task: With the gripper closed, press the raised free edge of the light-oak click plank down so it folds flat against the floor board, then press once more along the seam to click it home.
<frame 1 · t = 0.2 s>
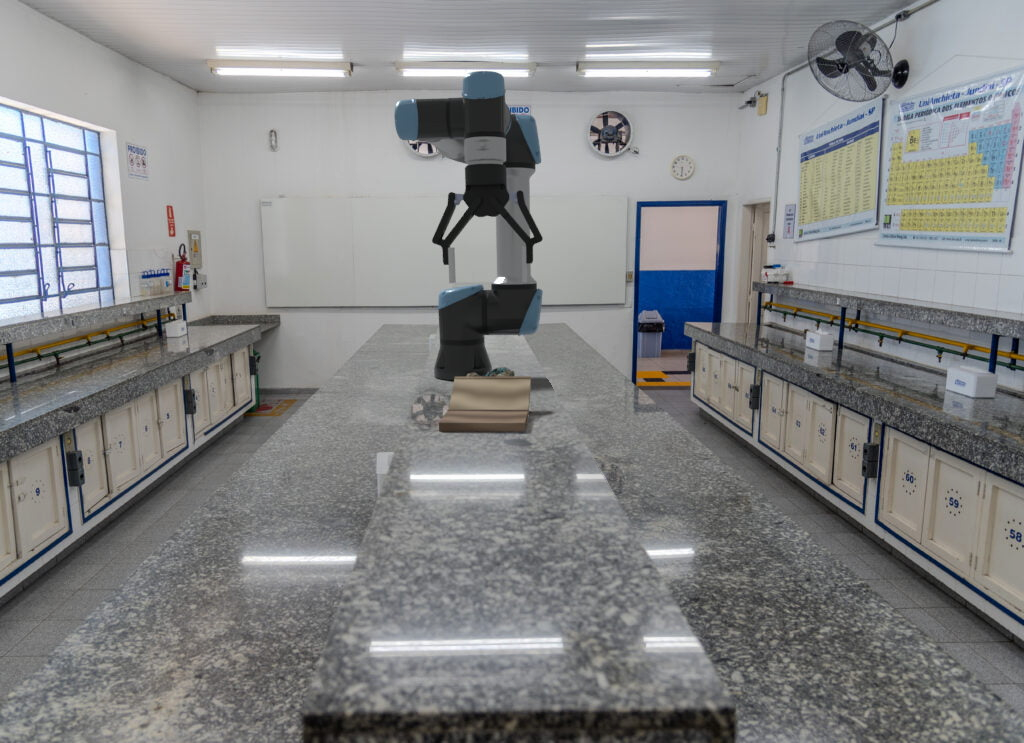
hand: (488, 282, 131), 27 cm above the countertop, fingers open, 13 cm apart
click plank: (490, 395, 144), point 3 cm above the countertop, hinge at 30.0°
floor board: (485, 424, 135), on the countertop
mineral specimen: (490, 396, 160), on the countertop
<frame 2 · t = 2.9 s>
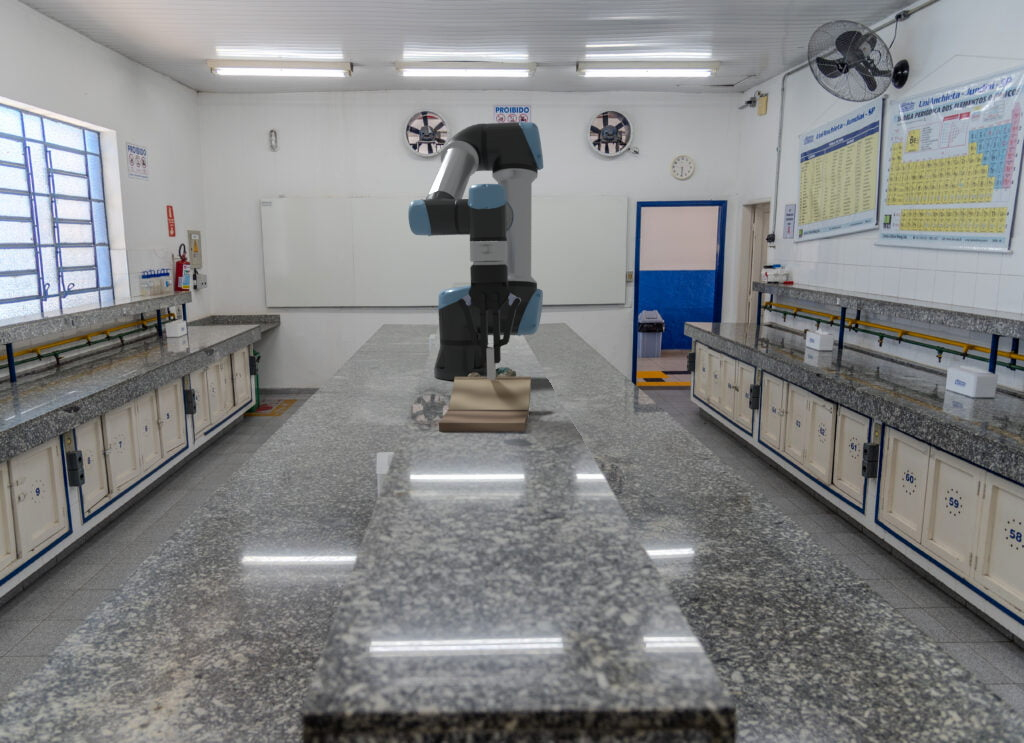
hand: (491, 378, 145), 7 cm above the countertop, fingers closed
click plank: (490, 395, 144), point 3 cm above the countertop, hinge at 29.6°, touching gripper
everything else where it was.
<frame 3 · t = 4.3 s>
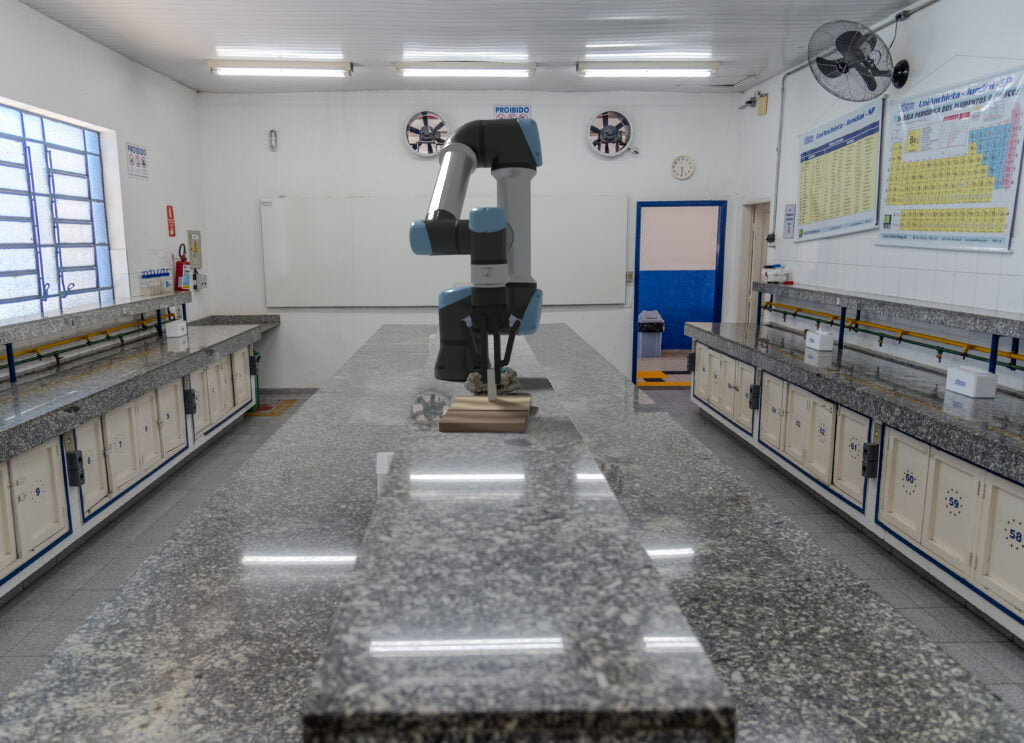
hand: (492, 398, 146), 2 cm above the countertop, fingers closed
click plank: (491, 405, 145), point 1 cm above the countertop, hinge at 2.8°, touching gripper
everything else where it was.
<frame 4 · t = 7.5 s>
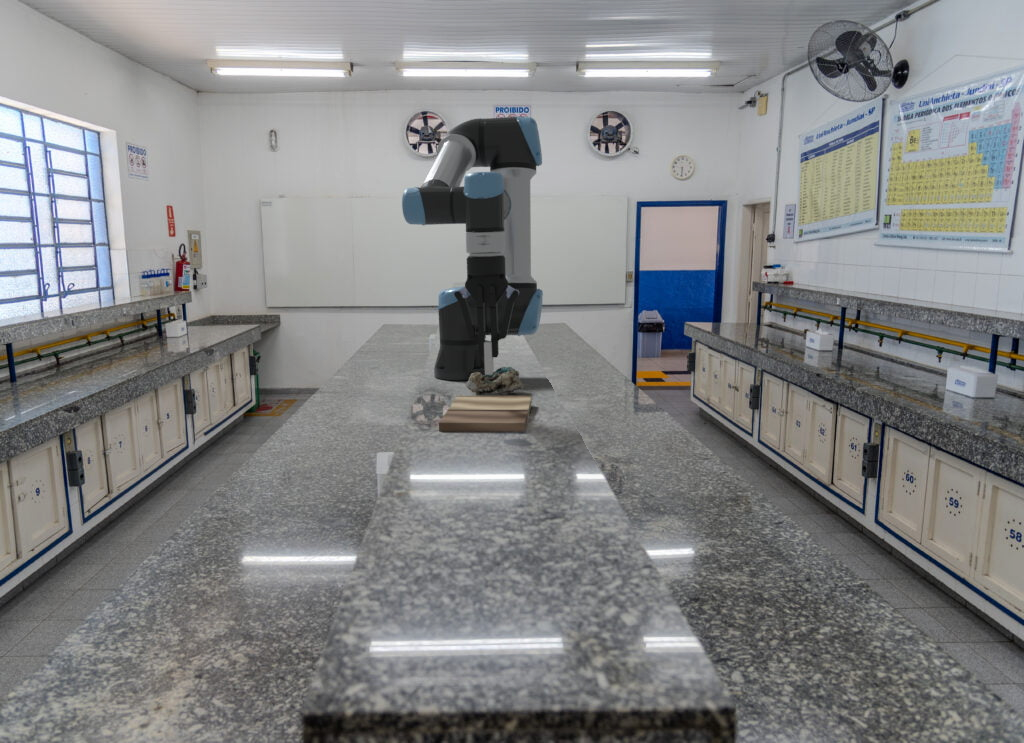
hand: (489, 373, 141), 8 cm above the countertop, fingers closed
click plank: (491, 405, 145), point 1 cm above the countertop, hinge at 2.8°
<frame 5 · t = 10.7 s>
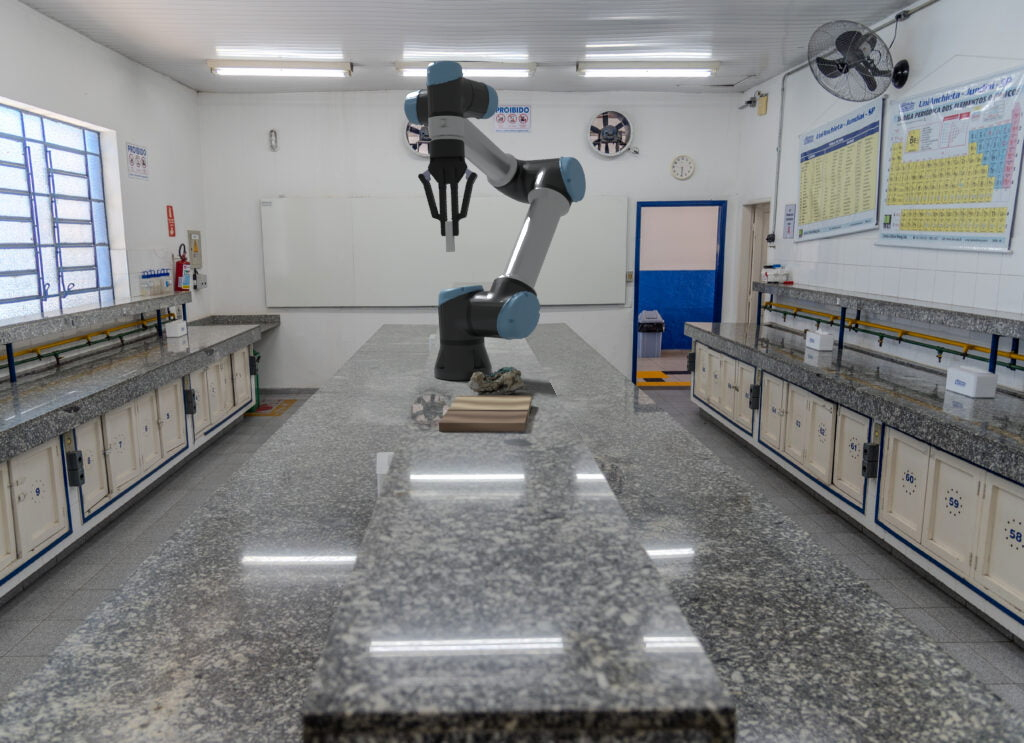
hand: (450, 251, 154), 32 cm above the countertop, fingers closed
at the end: click plank at +3° (first picture: +30°) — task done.
